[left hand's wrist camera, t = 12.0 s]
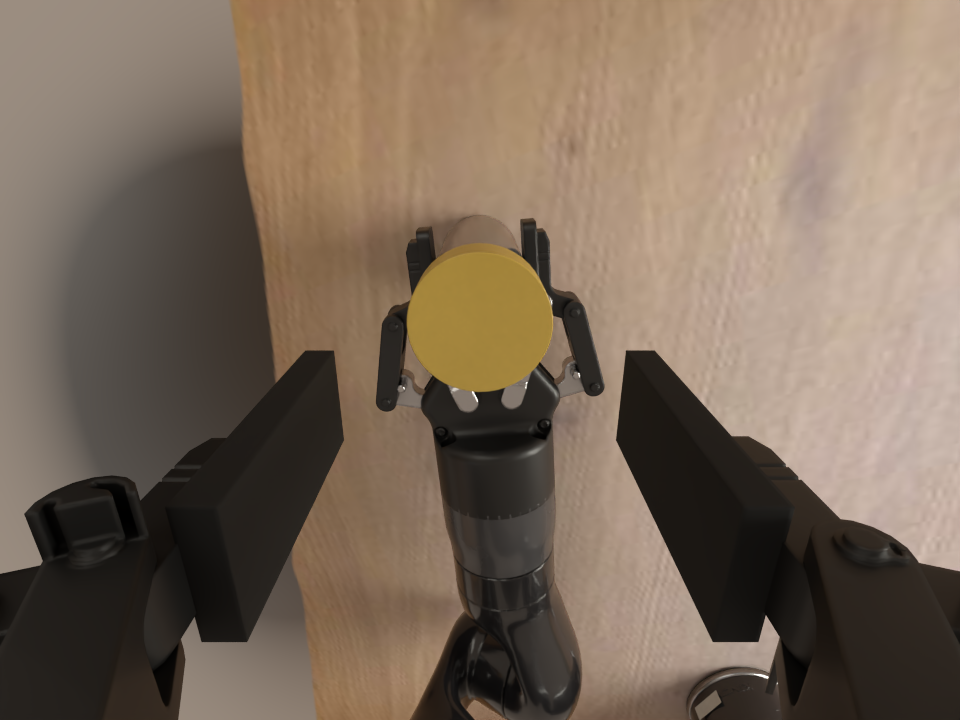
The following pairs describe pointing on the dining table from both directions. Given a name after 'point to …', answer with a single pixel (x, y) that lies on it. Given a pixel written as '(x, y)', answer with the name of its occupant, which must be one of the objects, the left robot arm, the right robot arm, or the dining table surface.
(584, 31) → the dining table surface
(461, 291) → the lid
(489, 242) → the grey tall cylinder
